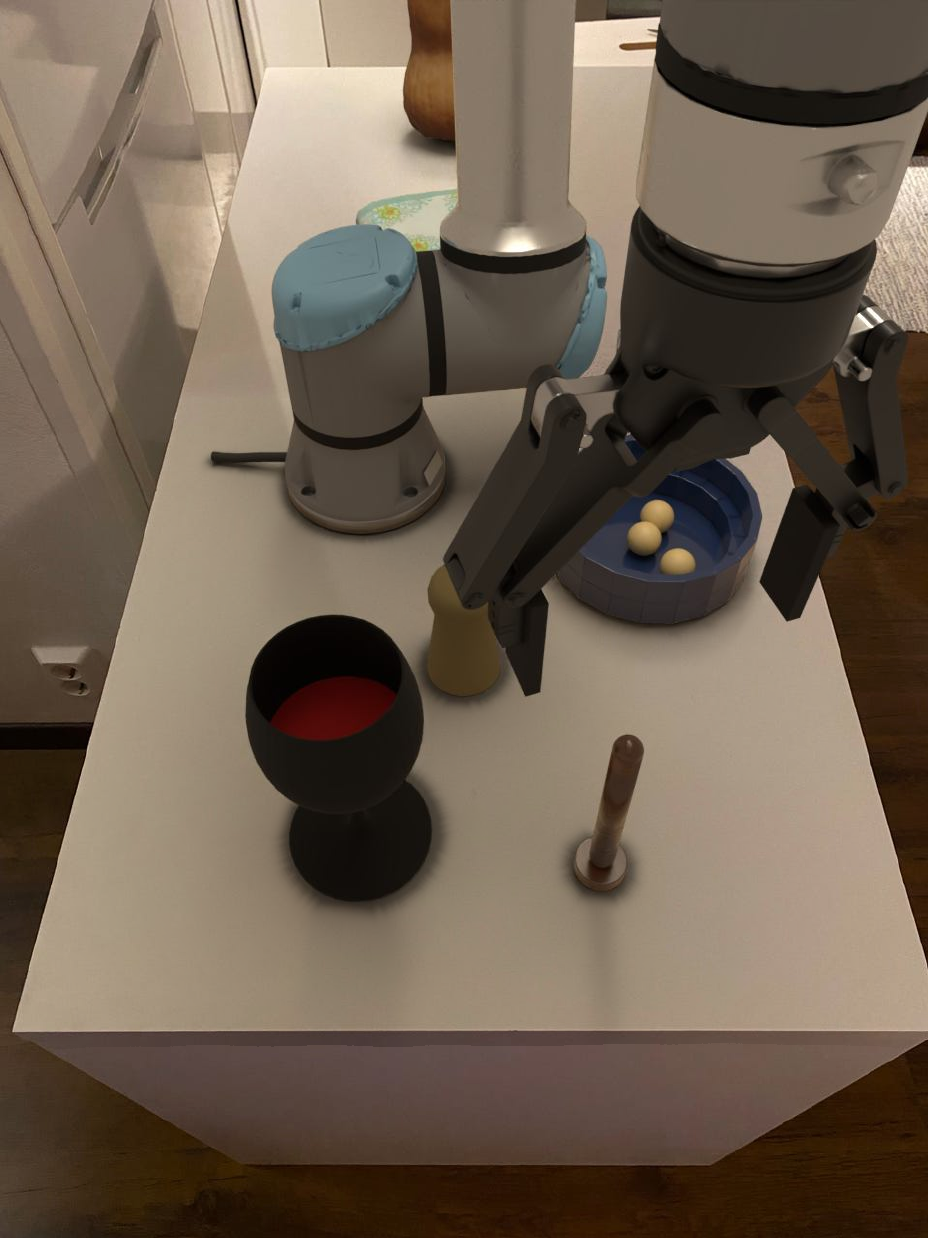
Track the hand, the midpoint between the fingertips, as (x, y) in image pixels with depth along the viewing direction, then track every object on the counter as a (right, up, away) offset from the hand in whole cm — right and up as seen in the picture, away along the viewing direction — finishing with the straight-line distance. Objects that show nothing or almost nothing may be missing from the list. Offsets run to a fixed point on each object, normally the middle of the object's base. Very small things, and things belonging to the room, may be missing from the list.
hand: (654, 635), depth 46 cm
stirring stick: (0, -17, +21) cm, 27 cm away
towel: (-10, +44, +69) cm, 82 cm away
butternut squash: (-11, +69, +89) cm, 113 cm away
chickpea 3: (+9, +5, +35) cm, 37 cm away
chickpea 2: (+7, +8, +37) cm, 39 cm away
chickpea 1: (+8, +10, +39) cm, 41 cm away
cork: (-9, -3, +32) cm, 33 cm away
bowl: (+7, +7, +39) cm, 41 cm away
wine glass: (-17, -15, +23) cm, 32 cm away
